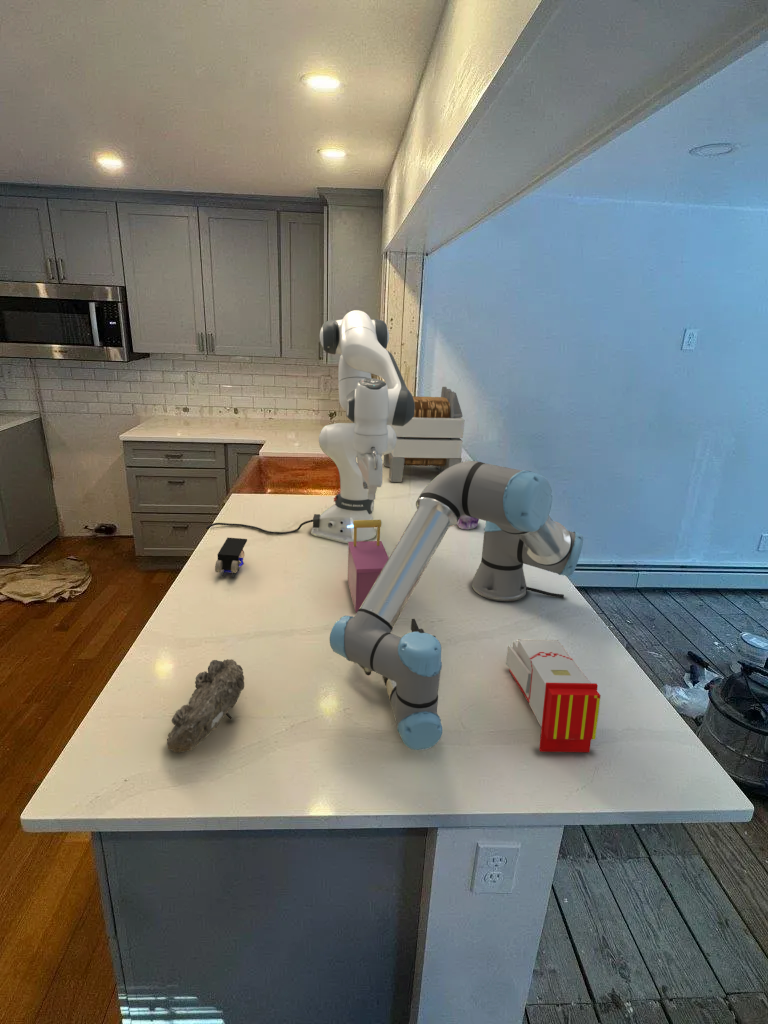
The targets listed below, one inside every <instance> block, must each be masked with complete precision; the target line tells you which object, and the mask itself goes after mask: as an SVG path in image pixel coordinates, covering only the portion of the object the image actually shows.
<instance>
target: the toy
mask: <svg viewBox="0 0 768 1024" xmlns="http://www.w3.org/2000/svg"><path fill="white" fill-rule="evenodd" d="M505 659H506V660H505V665H506V666H507V667H508V671H509V673H510V674H511V676H512V678H513V679H514V681H515V682H516V685H517V686H518V688H519V690H520V691H521V692H522V694H523V697H525V699H526V701H527V703H529V707H530V709H531V711H532V712H533V714H534V716H535V718H536V720H537V722H538V724H539V726H540V728H541V729H540V739H539V748H538V751H539V752H540V753H543V752H544V753H590V752H591V744H592V743H591V742H592V740H596V736H597V727H598V720H599V719H598V718H599V710H600V704H601V703H600V702H601V696H602V695H601V694H600V693H599V692H598V687H599V686H598V683H595V682H594V683H592V682H591V681H590V679H589V678H588V677H587V676H586V674H585V673H584V671H583V670H582V669H581V668H580V666H579V665H578V664H577V663H576V662H575V661H576V660H574V659H573V658H572V656H571V655H570V653H568V651H567V650H566V648H565V647H564V645H563V644H562V643H561V642H560V641H559V639H529V638H528V639H524V638H521V639H517V640H512V645H511V644H510V645H509V644H508V646H507V653H506V658H505Z"/></svg>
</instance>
